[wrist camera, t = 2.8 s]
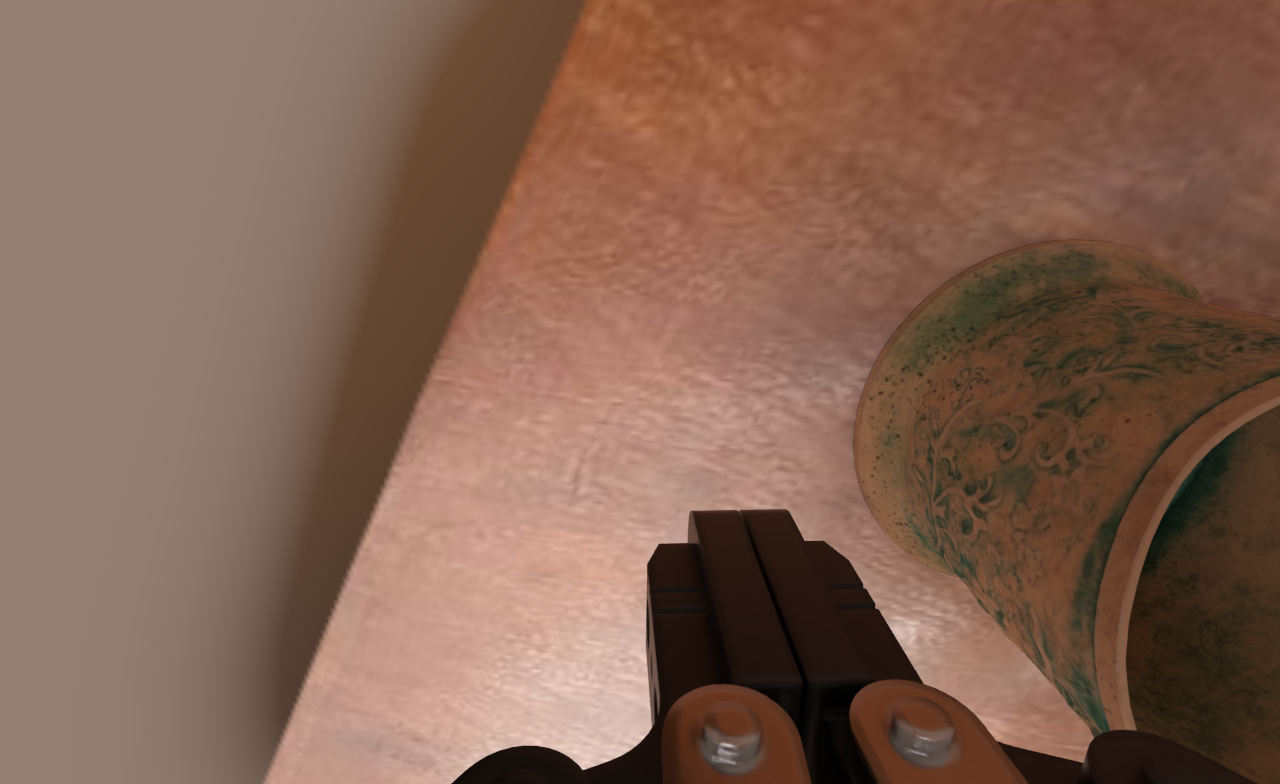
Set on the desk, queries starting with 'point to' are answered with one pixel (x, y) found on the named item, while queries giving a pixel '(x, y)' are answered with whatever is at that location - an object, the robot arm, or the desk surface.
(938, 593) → the desk surface
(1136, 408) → the mug
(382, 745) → the desk surface
